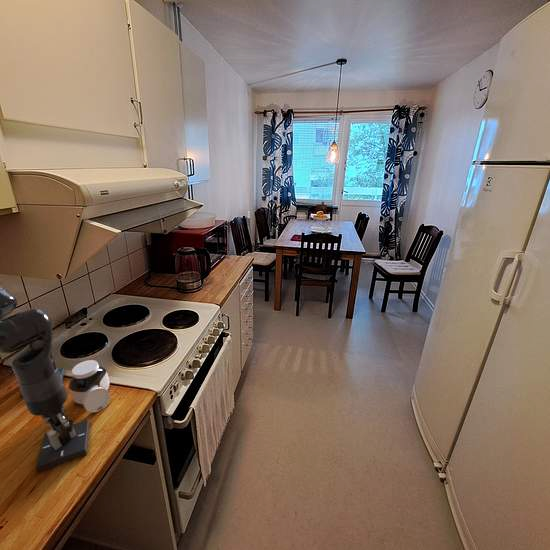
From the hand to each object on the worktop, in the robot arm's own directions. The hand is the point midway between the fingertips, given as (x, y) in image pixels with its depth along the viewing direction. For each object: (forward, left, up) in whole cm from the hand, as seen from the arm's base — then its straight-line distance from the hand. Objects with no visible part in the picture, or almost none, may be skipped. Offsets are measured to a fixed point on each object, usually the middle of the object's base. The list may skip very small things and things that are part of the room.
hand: (63, 439), depth 74 cm
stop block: (-10, +30, -3) cm, 32 cm away
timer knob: (0, 0, -1) cm, 1 cm away
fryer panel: (0, 0, -3) cm, 3 cm away
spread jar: (+6, +15, -3) cm, 16 cm away
